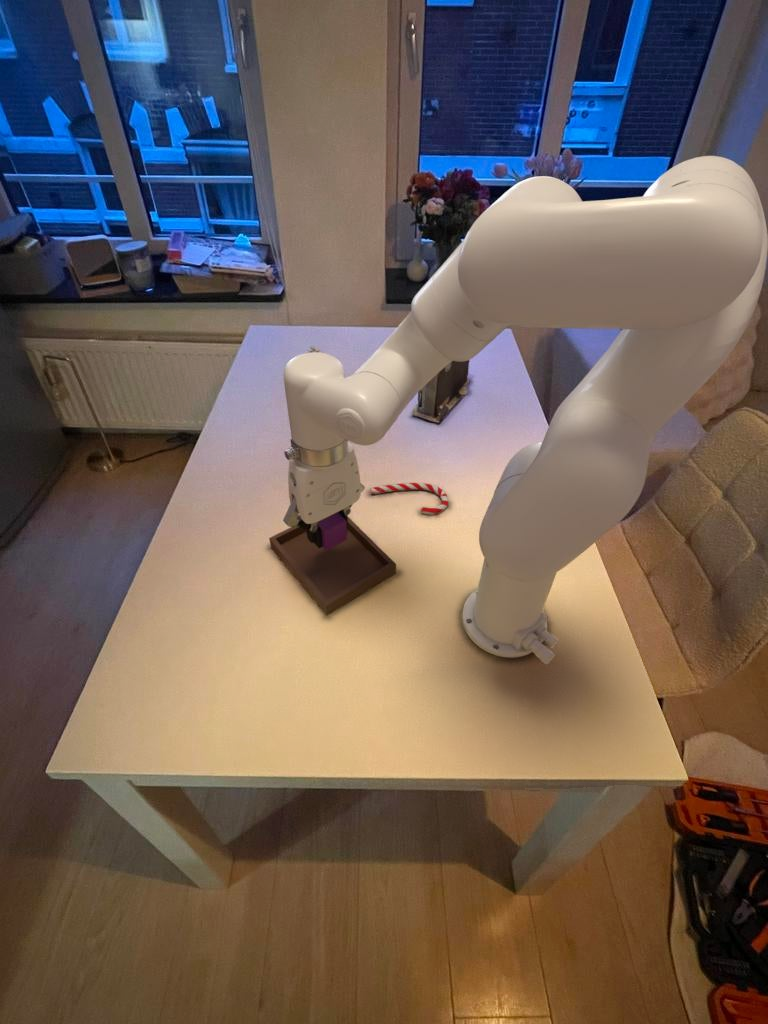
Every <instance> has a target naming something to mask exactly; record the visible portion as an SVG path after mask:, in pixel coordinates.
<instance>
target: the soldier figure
mask: <svg viewBox="0 0 768 1024" xmlns="http://www.w3.org/2000/svg"><path fill="white" fill-rule="evenodd" d="M309 348H310V349H308V350H307V353H311V352H321V351H322V350H321V349H320V348H319V347H317V346H314V345H310V346H309Z"/></svg>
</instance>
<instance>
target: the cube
mask: <svg viewBox="0 0 768 1024" xmlns="http://www.w3.org/2000/svg"><path fill="white" fill-rule="evenodd" d="M318 527H319V528H320V530H321V534H322V545H323V546H322V547H323V548H324V549H325V550H326V551H327V550H329V549H331V548H333V547H334V546H336V545H338V544H340V543H342V542H344V541H346V540H347V529H346V520H345V519H344V518H343V517H342V516H341V515H340V514H339V513H338V512H336V513H334V514H332V515H330V516H328V517H326V518H324V519H322V520H320V521H319V522H318Z"/></svg>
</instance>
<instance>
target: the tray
mask: <svg viewBox="0 0 768 1024" xmlns="http://www.w3.org/2000/svg"><path fill="white" fill-rule="evenodd" d="M268 540H269V544H270V549H271V550H273V552H274V553H275V554H276V556H277V557H278V558H279V560H280V561H282V563H283V564H284V565H285V567H286V568H287V569H288V571H289V572H290V573H291V574H292V575H293V576H294V577H295V579H296V580H297V581H298V582H299V583H300V585H301V586H302V587H303V589H304V590H305V591H306V593H308V595H309V596H310V597H311V599H312V600H313V601H314V602H315V603H316V604H317V606H318V607H319V608H320V610H322V612H323V613H324V614H325V615H326V616H329V615H330V614H332V613H334V612H335V611H337V610H339V609H340V608H342V607H344V606H345V605H347V604H348V603H350V602H352V601H354V600H355V599H357V598H359V597H360V596H362V595H364V594H365V593H366V592H368V591H370V590H372V589H374V588H375V587H377V586H378V585H380V584H382V583H384V582H385V581H386V580H389V579H390V578H392V577H393V576H395V575H397V563H396V562H395V561H394V560H393V559H392V558H391V557H390V556H389V555H387V553H386V552H385V551H383V549H381V548H380V547H379V545H378V544H377V543H376V542H374V541H373V540H372V539H371V537H369V535H368V534H366V533H365V531H363V529H361V528H360V527H359V525H357V524H356V523H355V522H354V521H353V520H352V519H351V518H350V517H349V516H348V525H347V540H346V541H344V542H342V543H340V544H338V545H336V546H334V547H333V548H331V549H329V550H327V551H326V550H325V549H324V548H323V547H321V548H318V547H317V546H316V545H315V544H314V543H311V542H310V541H309V540H308V538H307V532H306V529H304V528H300V527H299V526H297V527H288V528H287V529H285V530H282V531H280V532H278V533H277V534H274V535H273V536H270V537H269V538H268Z"/></svg>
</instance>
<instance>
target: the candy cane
mask: <svg viewBox="0 0 768 1024" xmlns="http://www.w3.org/2000/svg"><path fill="white" fill-rule="evenodd" d="M411 490H412V491H413V490H416V491H417V490H418V491H419V490H421V491H427V492H431V493H434V494H436V495H437V496H438V497H439V498H440V500H441V502H440V504H439V505H438V506H436V507H427V506H425V507H424V506H423V507H422V508H420V509H421V510H420V512H421V514H425V515H436V514H440V513H442V512H443V511H445V510H446V509H447V508H448V506H449V496H448V495H447V493H446V492H445V491H444V490H443V489H442V488H440V487H438V486H437V485H434V484H431V483H430V484H429V483H424V482H403V483H393V484H386V485H380V486H374V487H371V488H370V489H369V491H370V494H371V495H376V494H382V493H383V494H384V493H389V492H397V491H411Z"/></svg>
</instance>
